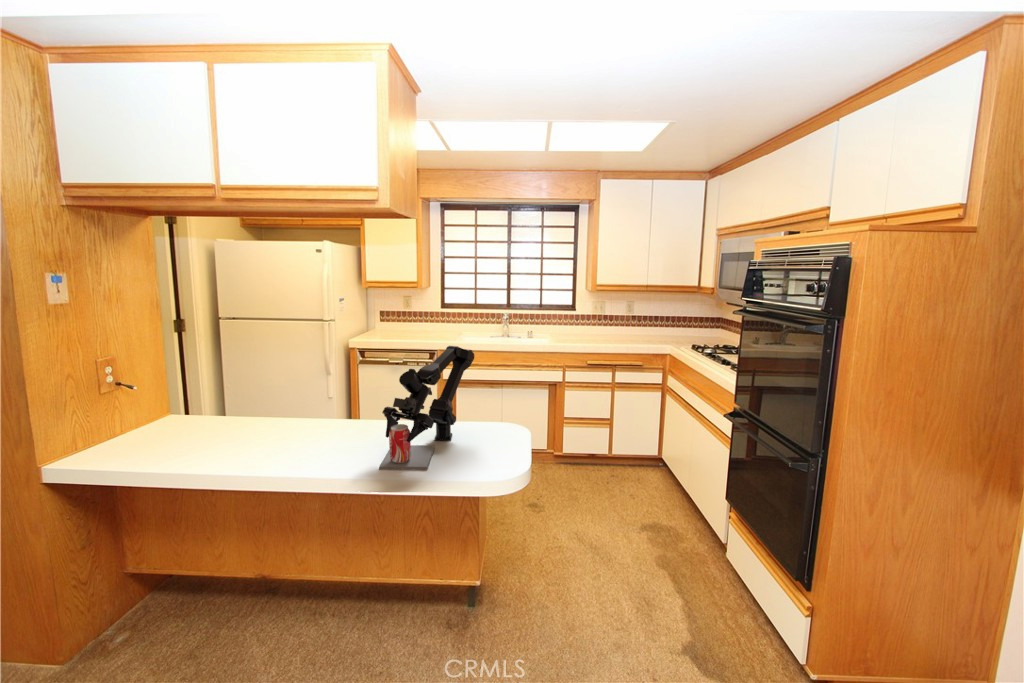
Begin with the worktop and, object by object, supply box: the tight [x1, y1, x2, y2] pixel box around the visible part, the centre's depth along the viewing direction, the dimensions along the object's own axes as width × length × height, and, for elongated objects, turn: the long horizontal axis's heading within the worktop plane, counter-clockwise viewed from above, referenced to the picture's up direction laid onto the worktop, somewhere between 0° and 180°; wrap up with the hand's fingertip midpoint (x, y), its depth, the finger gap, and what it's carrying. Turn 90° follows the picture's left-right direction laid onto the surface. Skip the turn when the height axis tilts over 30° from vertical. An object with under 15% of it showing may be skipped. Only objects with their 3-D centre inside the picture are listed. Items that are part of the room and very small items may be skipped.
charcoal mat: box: [378, 444, 436, 471], centre depth 159 cm, size 18×16×1 cm
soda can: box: [388, 423, 412, 463], centre depth 154 cm, size 7×7×12 cm
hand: (397, 439), depth 153 cm, fingers open, 9 cm apart
